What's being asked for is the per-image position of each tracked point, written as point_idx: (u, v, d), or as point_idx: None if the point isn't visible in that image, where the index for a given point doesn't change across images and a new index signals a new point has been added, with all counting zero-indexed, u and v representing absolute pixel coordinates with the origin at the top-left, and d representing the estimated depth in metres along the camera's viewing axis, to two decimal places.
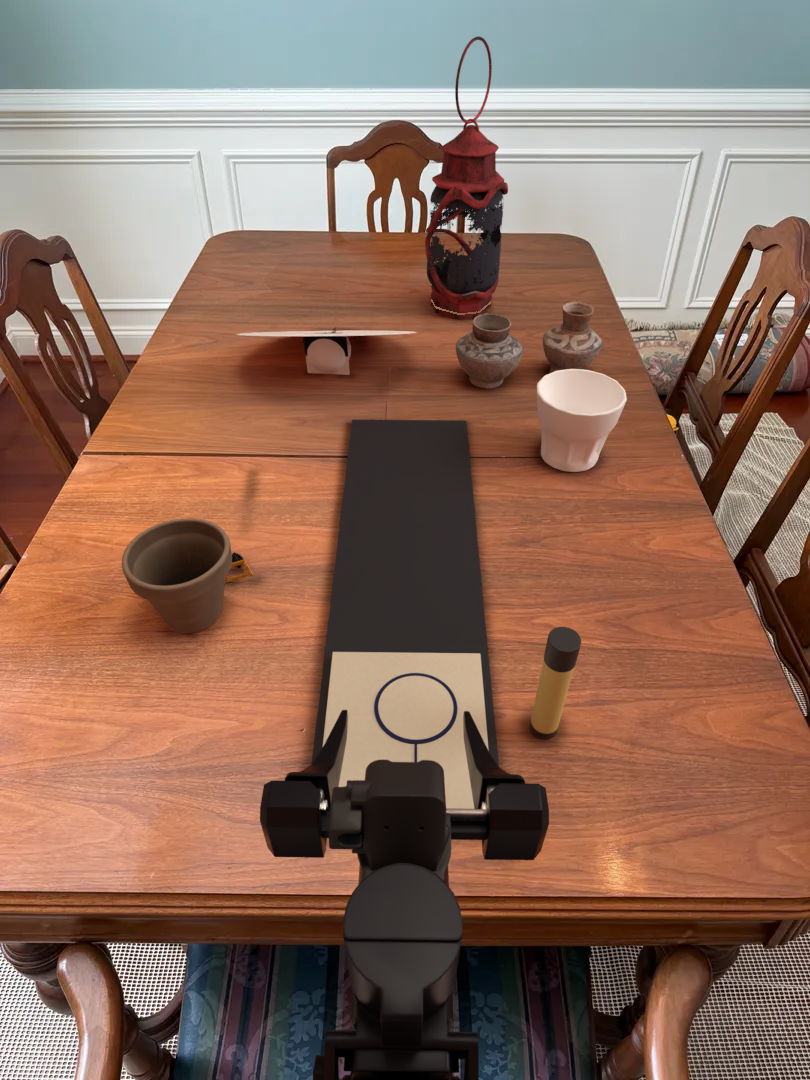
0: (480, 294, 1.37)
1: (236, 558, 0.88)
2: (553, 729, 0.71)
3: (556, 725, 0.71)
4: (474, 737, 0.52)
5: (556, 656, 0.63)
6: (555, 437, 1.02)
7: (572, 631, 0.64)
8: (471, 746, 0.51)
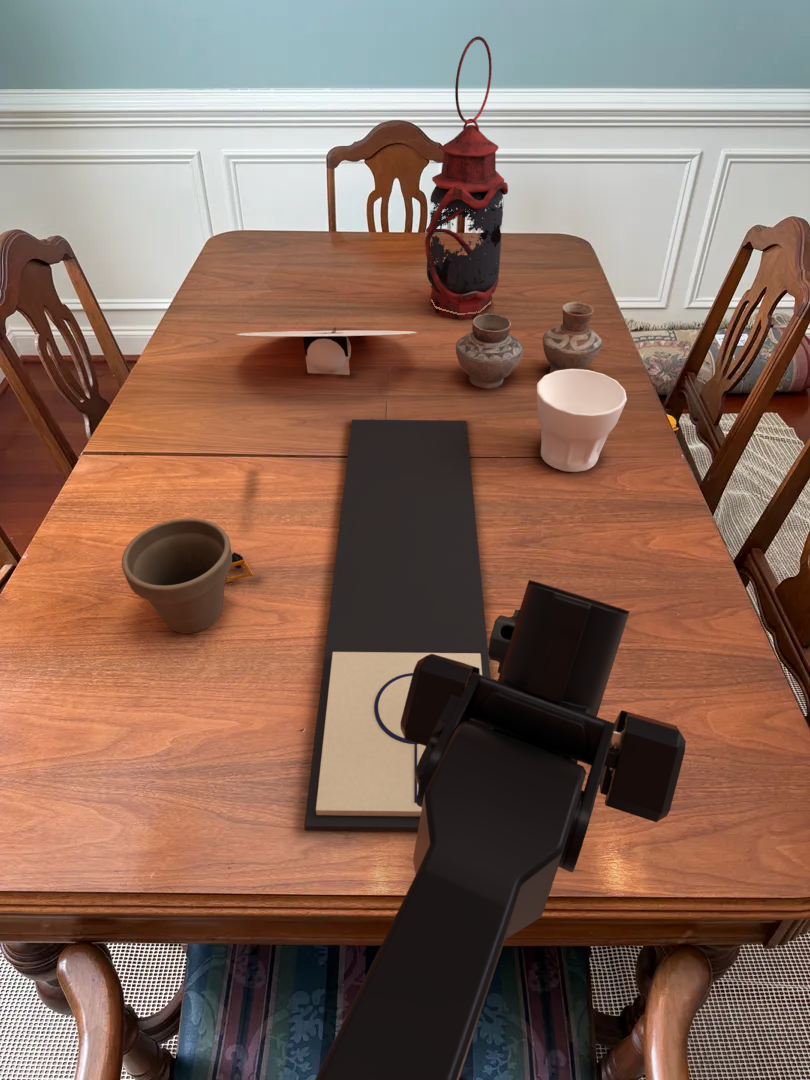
0: (480, 294, 1.37)
1: (236, 558, 0.88)
2: None
3: None
4: None
5: None
6: (555, 437, 1.02)
7: None
8: None
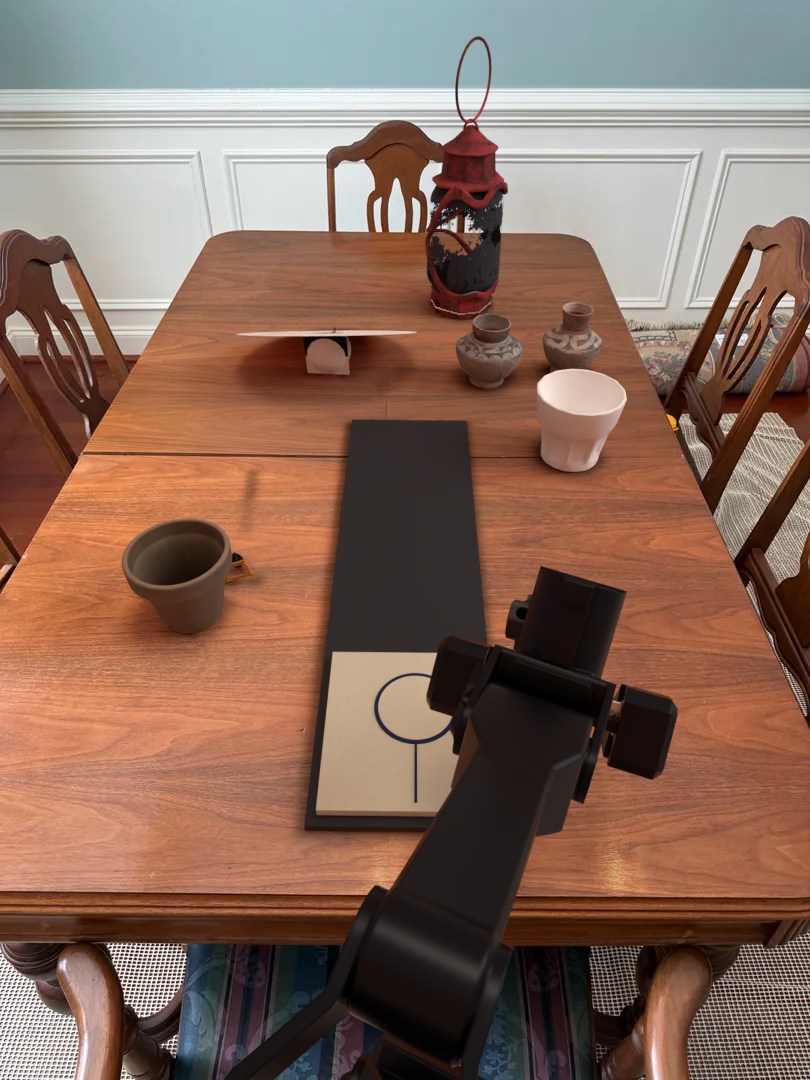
0: (480, 294, 1.37)
1: (236, 558, 0.88)
2: None
3: None
4: None
5: None
6: (555, 437, 1.02)
7: None
8: None
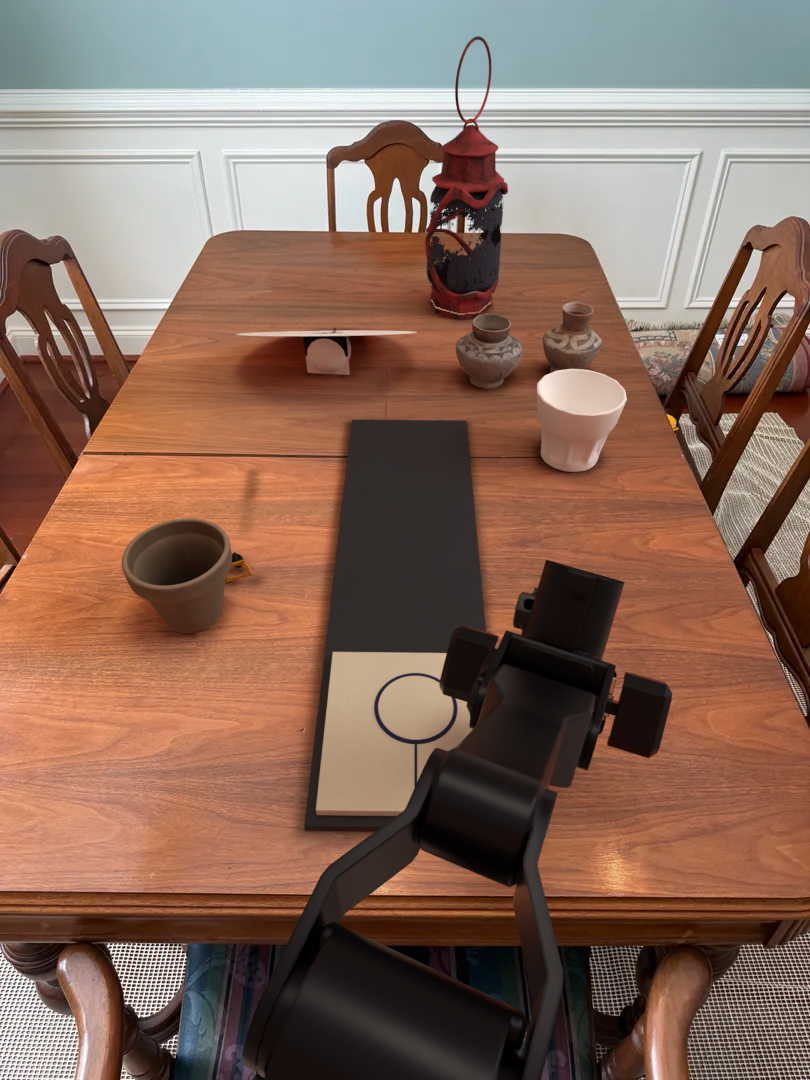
0: (480, 294, 1.37)
1: (236, 558, 0.88)
2: None
3: None
4: None
5: None
6: (555, 437, 1.02)
7: None
8: None
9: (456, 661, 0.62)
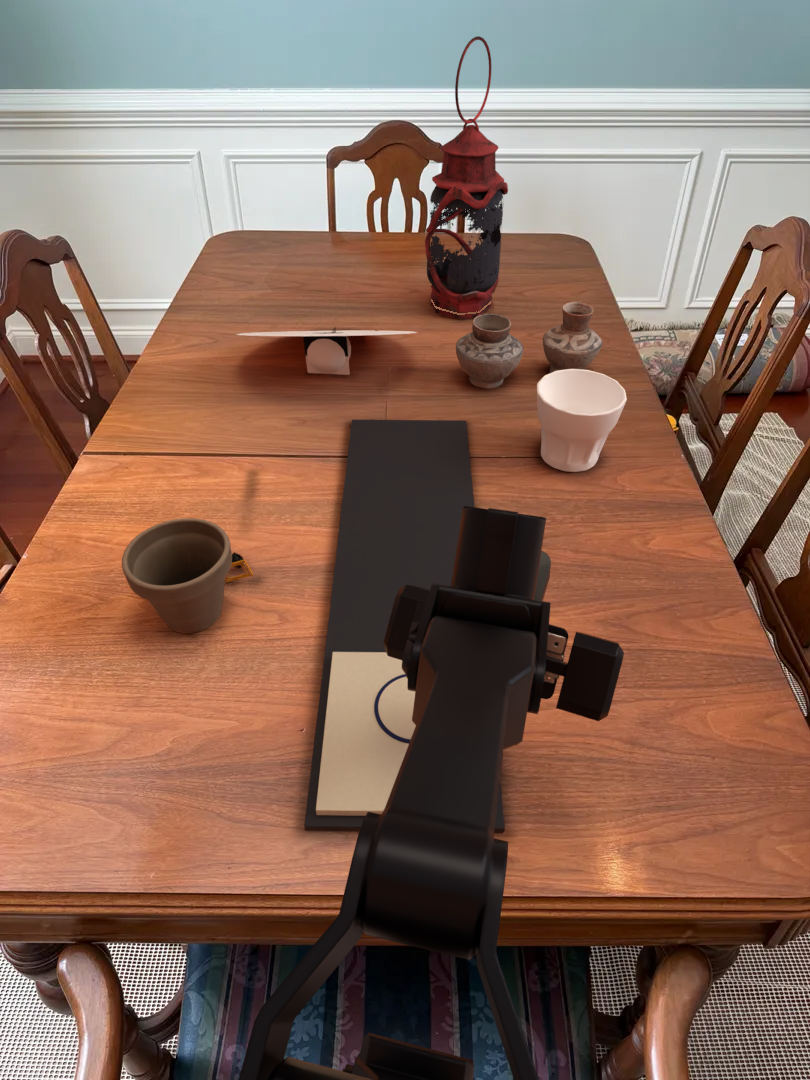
0: (480, 294, 1.37)
1: (236, 558, 0.88)
2: None
3: None
4: None
5: None
6: (555, 437, 1.02)
7: None
8: None
9: (400, 620, 0.59)
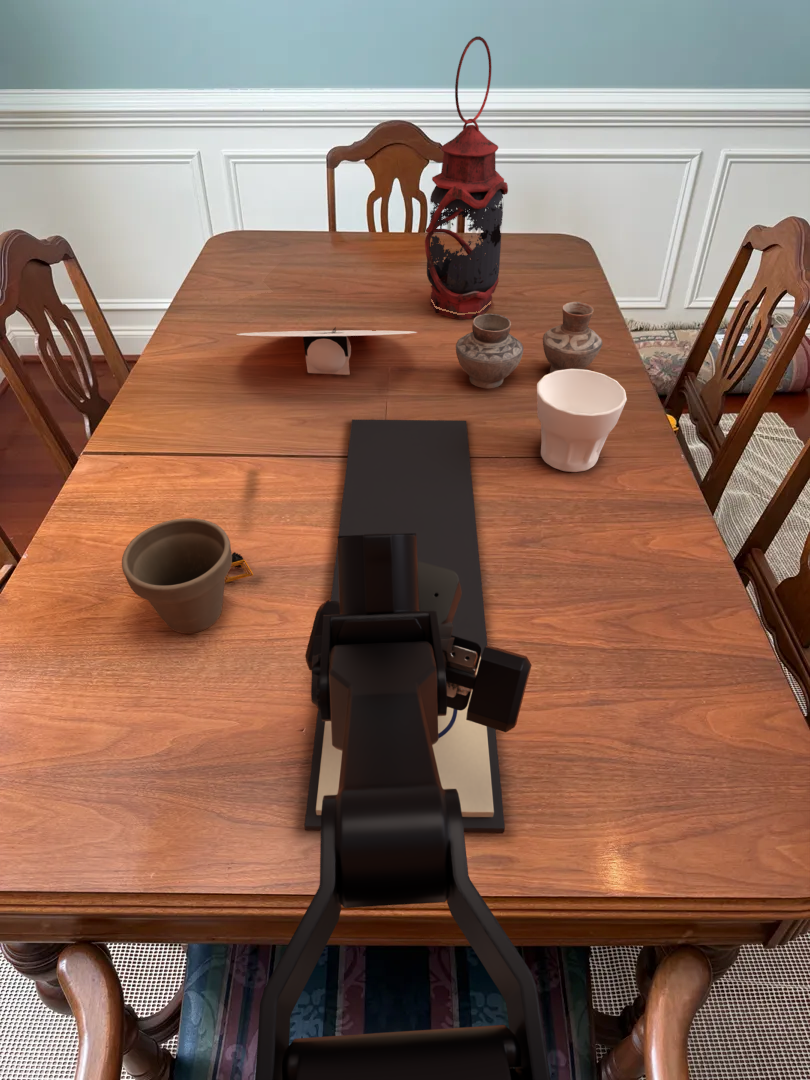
0: (480, 294, 1.37)
1: (236, 558, 0.88)
2: None
3: None
4: None
5: None
6: (555, 437, 1.02)
7: None
8: None
9: (320, 636, 0.61)
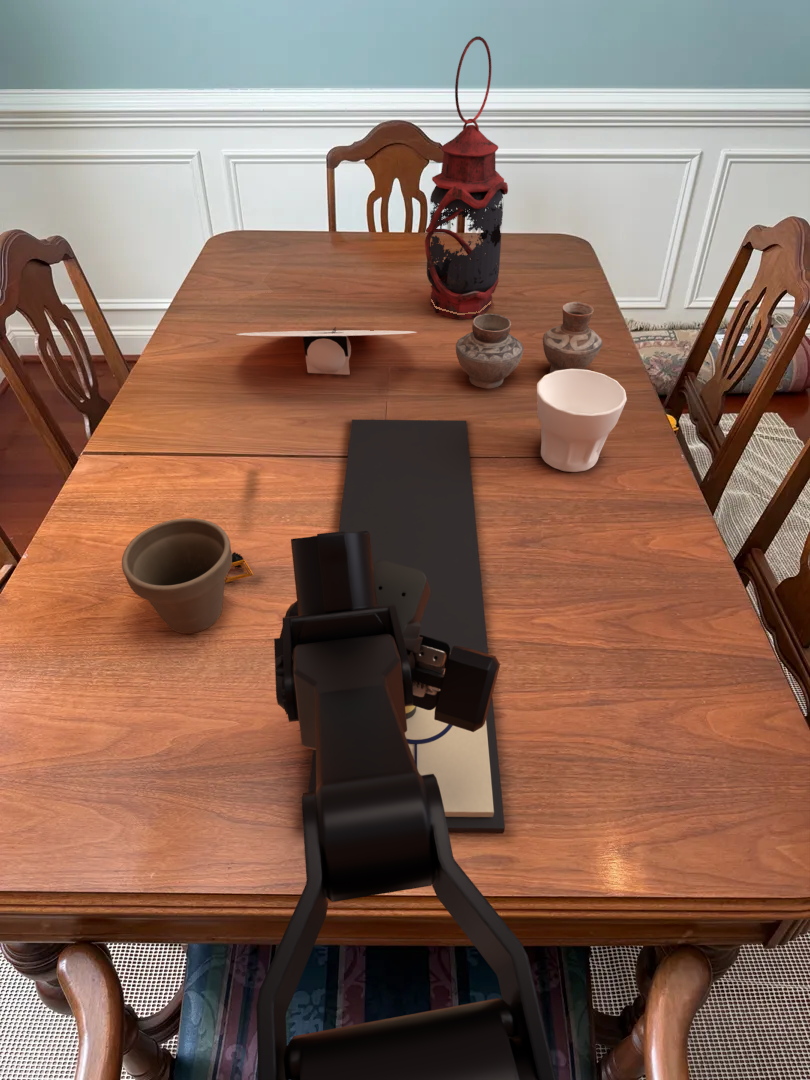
0: (480, 294, 1.37)
1: (236, 558, 0.88)
2: (408, 709, 0.70)
3: None
4: None
5: None
6: (555, 437, 1.02)
7: None
8: None
9: None
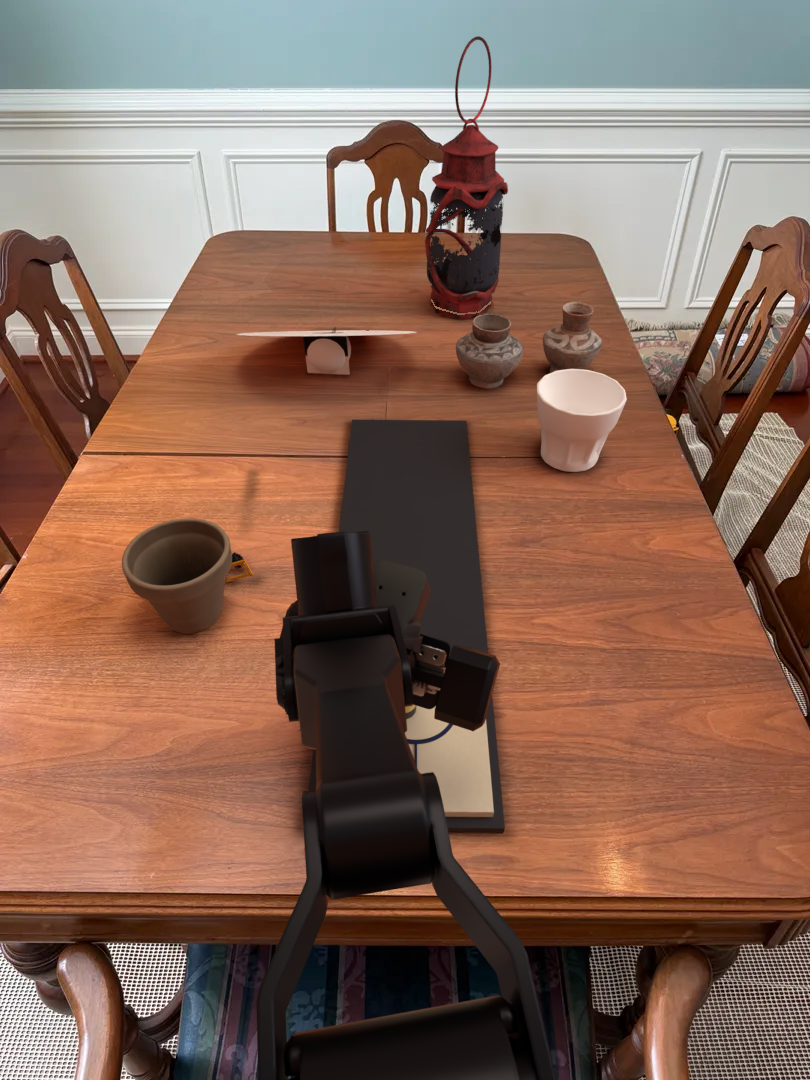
0: (480, 294, 1.37)
1: (236, 558, 0.88)
2: (408, 708, 0.70)
3: None
4: None
5: None
6: (555, 437, 1.02)
7: None
8: None
9: None
